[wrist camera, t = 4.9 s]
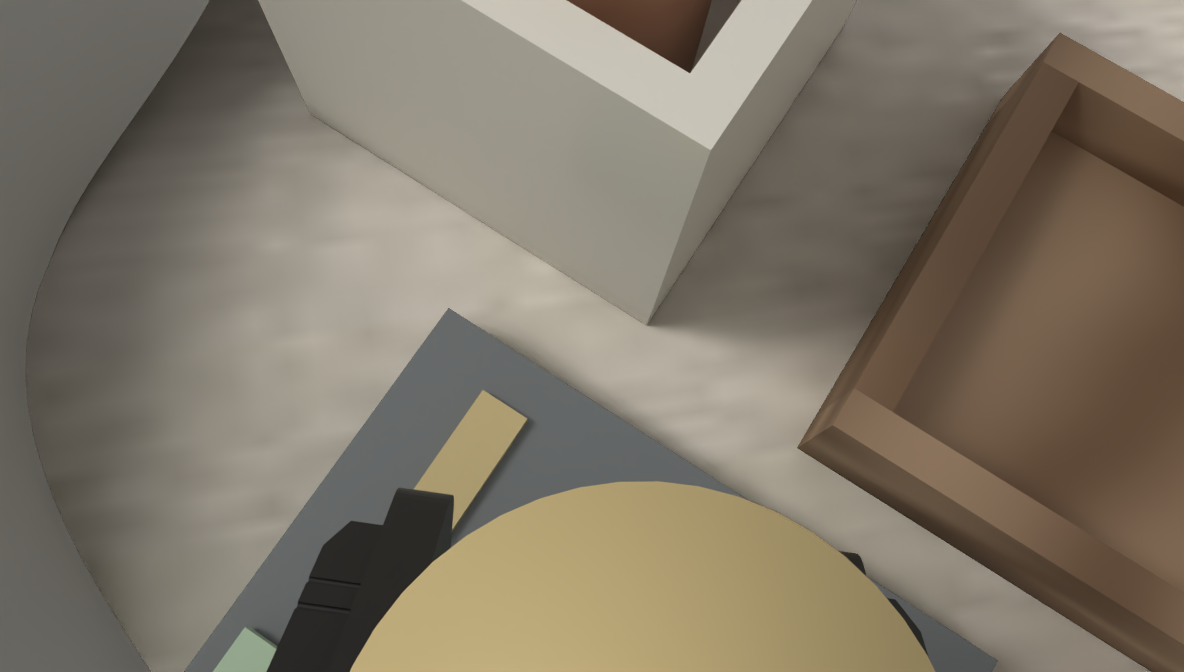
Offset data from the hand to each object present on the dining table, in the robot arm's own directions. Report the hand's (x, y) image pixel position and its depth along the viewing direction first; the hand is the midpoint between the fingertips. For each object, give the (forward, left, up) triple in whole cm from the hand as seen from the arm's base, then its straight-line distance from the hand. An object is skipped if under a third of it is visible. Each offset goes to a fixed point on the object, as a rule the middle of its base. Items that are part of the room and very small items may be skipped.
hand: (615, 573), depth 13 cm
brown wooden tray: (+7, +9, -6) cm, 13 cm away
